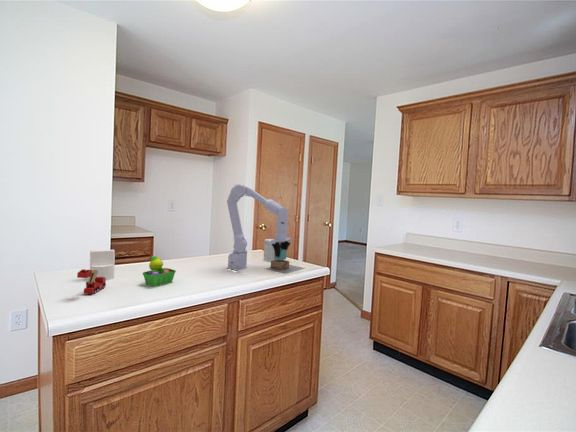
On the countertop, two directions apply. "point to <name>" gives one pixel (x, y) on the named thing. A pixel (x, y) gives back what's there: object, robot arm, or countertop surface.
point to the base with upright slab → (103, 263)
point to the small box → (268, 250)
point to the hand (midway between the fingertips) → (280, 256)
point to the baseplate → (291, 269)
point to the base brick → (279, 264)
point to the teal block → (281, 255)
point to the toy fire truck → (92, 281)
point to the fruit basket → (158, 273)
